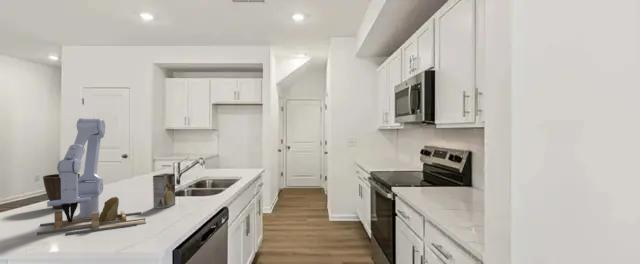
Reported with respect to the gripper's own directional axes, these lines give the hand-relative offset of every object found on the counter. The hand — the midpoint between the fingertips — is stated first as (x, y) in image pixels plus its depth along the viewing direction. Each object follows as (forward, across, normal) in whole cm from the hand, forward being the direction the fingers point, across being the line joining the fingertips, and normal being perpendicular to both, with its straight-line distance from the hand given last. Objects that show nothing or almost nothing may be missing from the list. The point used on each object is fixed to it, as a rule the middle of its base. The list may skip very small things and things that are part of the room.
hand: (70, 222), depth 146 cm
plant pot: (+2, -4, +41) cm, 41 cm away
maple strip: (+2, +17, -10) cm, 19 cm away
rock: (+2, +13, 0) cm, 13 cm away
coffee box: (+2, +39, +17) cm, 42 cm away
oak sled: (+2, +7, 0) cm, 7 cm away
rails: (+2, +8, -3) cm, 9 cm away
